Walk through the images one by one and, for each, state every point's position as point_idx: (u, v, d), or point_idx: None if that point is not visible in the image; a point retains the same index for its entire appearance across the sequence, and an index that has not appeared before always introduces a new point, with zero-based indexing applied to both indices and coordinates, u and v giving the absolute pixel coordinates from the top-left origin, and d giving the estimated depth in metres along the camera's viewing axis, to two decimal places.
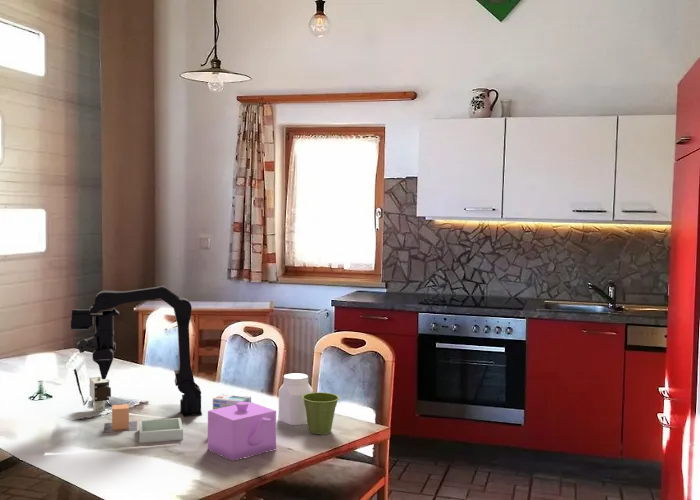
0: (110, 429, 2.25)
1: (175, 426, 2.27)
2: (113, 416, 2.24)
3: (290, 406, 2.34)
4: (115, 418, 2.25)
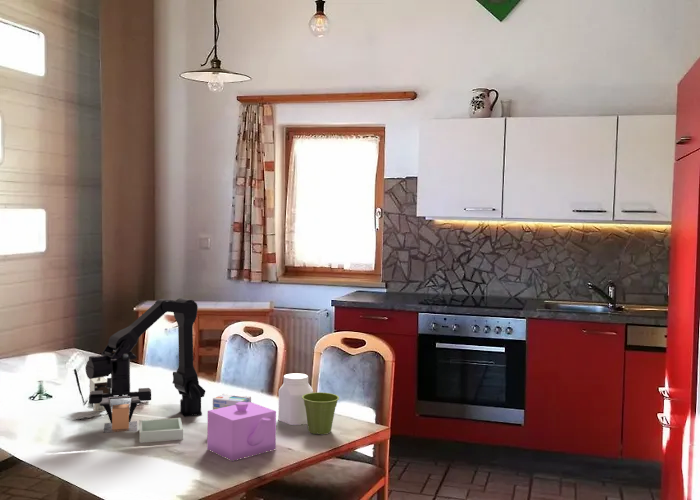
0: (110, 429, 2.25)
1: (175, 426, 2.27)
2: (113, 416, 2.24)
3: (290, 406, 2.34)
4: (115, 418, 2.25)
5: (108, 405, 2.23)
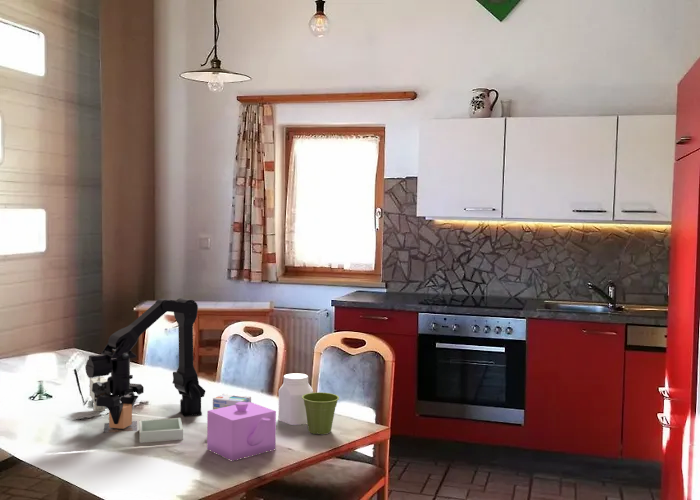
0: (110, 429, 2.25)
1: (175, 426, 2.27)
2: (124, 415, 2.25)
3: (290, 406, 2.34)
4: (125, 416, 2.25)
5: (122, 405, 2.23)
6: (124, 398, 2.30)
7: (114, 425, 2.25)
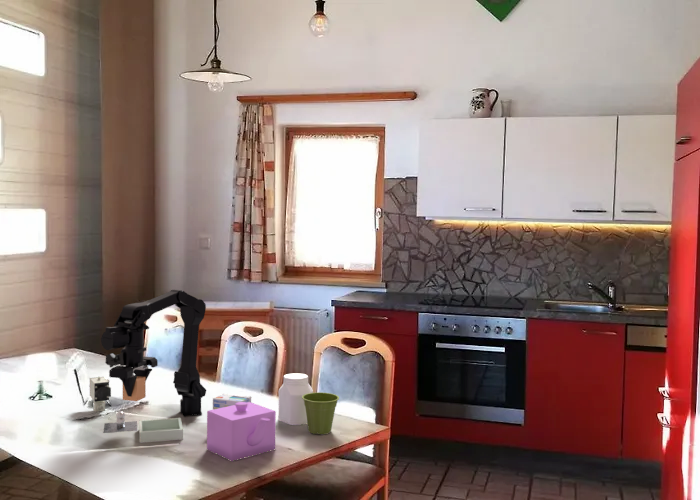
0: (110, 429, 2.25)
1: (175, 426, 2.27)
2: (137, 387, 2.22)
3: (290, 406, 2.34)
4: (138, 389, 2.22)
5: (136, 377, 2.20)
6: (138, 371, 2.27)
7: (127, 397, 2.22)
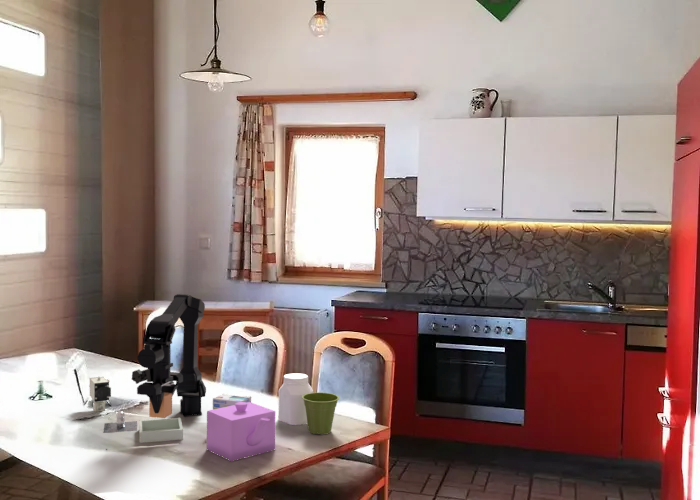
0: (110, 429, 2.25)
1: (175, 426, 2.27)
2: (165, 404, 2.17)
3: (290, 406, 2.34)
4: (165, 406, 2.18)
5: (163, 393, 2.16)
6: (164, 387, 2.23)
7: (154, 414, 2.18)
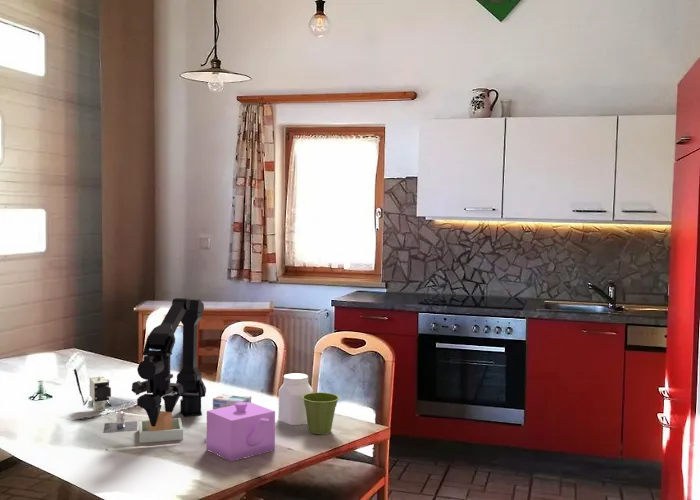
0: (110, 429, 2.25)
1: (175, 426, 2.27)
2: (165, 423, 2.18)
3: (290, 406, 2.34)
4: (166, 425, 2.18)
5: (160, 406, 2.14)
6: (167, 396, 2.25)
7: None
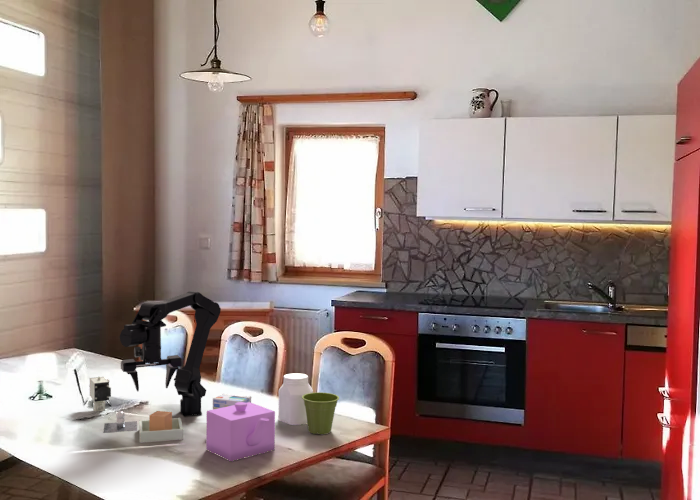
0: (110, 429, 2.25)
1: (175, 426, 2.27)
2: (165, 423, 2.18)
3: (290, 406, 2.34)
4: (166, 425, 2.18)
5: (136, 373, 2.25)
6: (167, 367, 2.33)
7: None
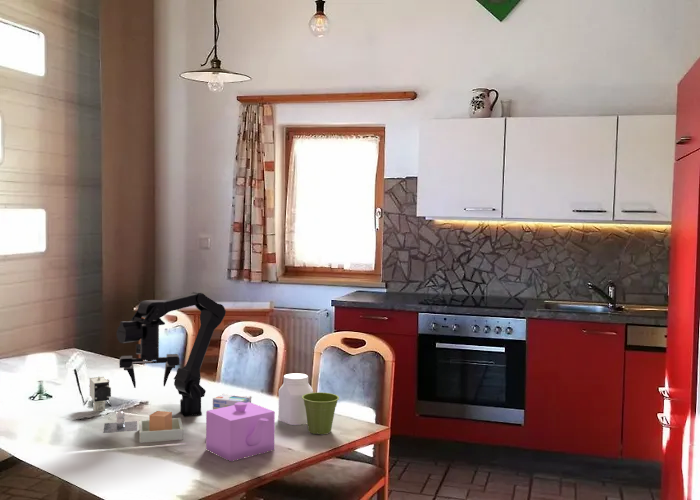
0: (110, 429, 2.25)
1: (175, 426, 2.27)
2: (165, 423, 2.18)
3: (290, 406, 2.34)
4: (166, 425, 2.18)
5: (132, 370, 2.29)
6: (165, 365, 2.35)
7: None
